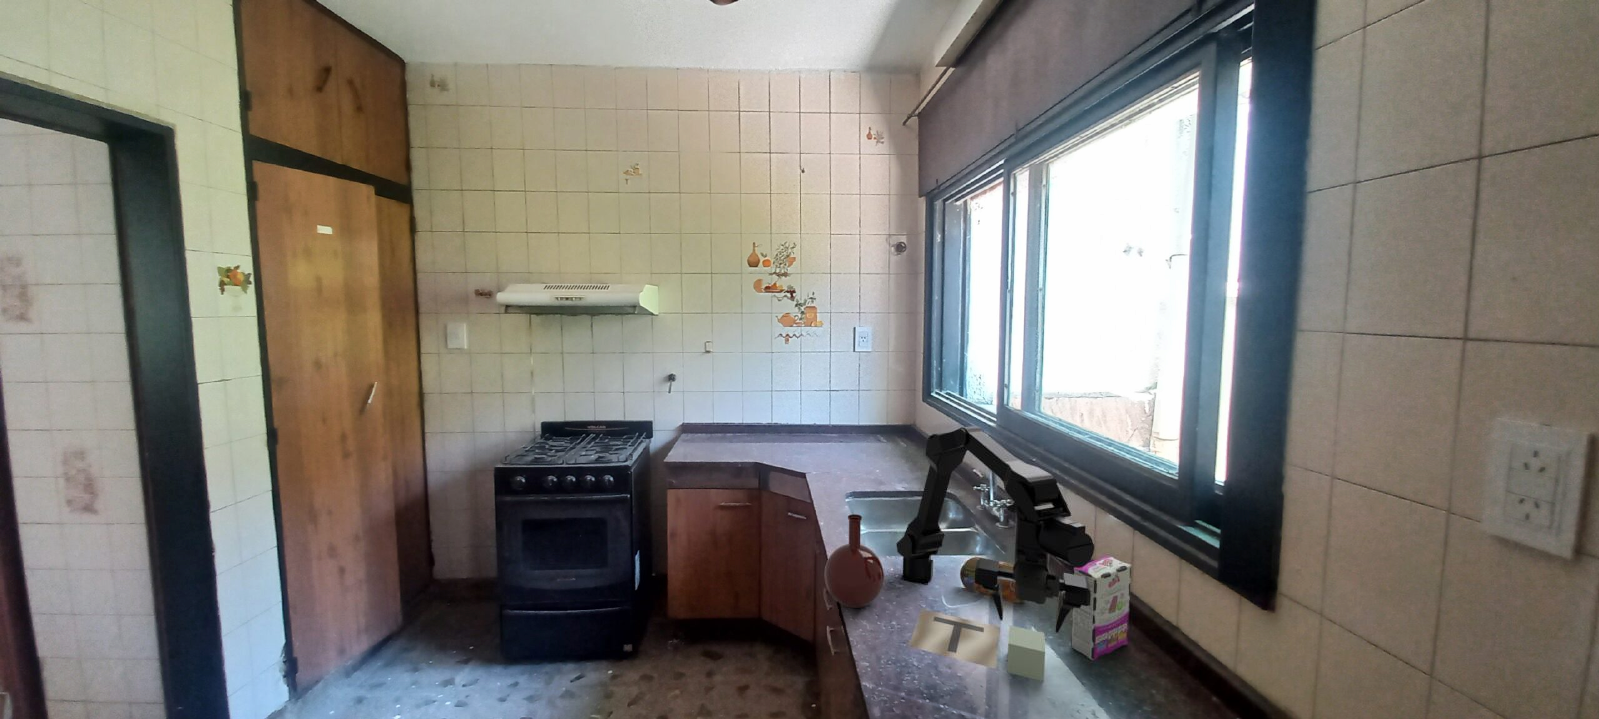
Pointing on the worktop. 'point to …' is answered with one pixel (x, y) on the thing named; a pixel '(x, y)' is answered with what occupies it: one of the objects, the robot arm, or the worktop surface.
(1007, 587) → the tin
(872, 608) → the worktop surface
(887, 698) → the worktop surface
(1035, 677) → the green block
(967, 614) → the worktop surface
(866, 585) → the round-bottom flask
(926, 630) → the board
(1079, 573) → the candy bar box
